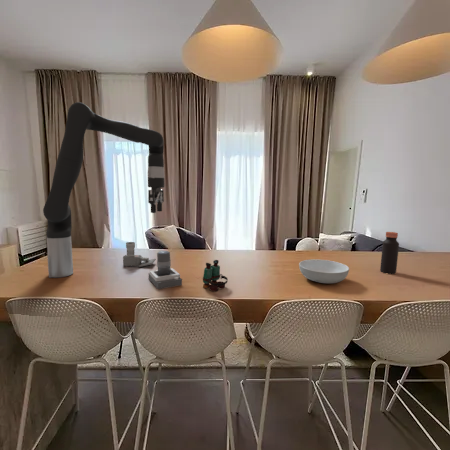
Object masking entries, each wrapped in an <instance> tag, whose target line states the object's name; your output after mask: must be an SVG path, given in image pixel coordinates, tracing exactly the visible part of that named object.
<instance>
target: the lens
mask: <svg viewBox="0 0 450 450" xmlns="http://www.w3.org/2000/svg"><path fill="white" fill-rule="evenodd" d="M156 256H157V257H156V259H157V260H156V267H157V270H158V277H159V276H166V275H171V274H170V268H171V265H172V264H171V252H170V251H168V250H161V251H158V252H157V253H156Z"/></svg>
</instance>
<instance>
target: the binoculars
mask: <svg viewBox="0 0 450 450" xmlns="http://www.w3.org/2000/svg"><path fill="white" fill-rule="evenodd" d="M219 261H220V260H219V259H214V260H213V265H212V263H210V262H205V266H206V267H204V269H203V276H202V282H203V284H202V288H204V289H209V290H210V291H212V292H218V289H225V288H226V284H227V283H228V279H229V278H228V277H227V276H225V275H223V274H222V273H220V272H221V265H218V264H219ZM222 279H224V280H225V281H222ZM218 280H221V281H218Z"/></svg>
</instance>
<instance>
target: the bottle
mask: <svg viewBox="0 0 450 450" xmlns="http://www.w3.org/2000/svg"><path fill="white" fill-rule="evenodd" d="M398 237H399V234H398V232H395V231H386V232H385V239H384V240H383V242H382V248H381V249H382V250H381V258H380V268H379V271H380V272H381V273H382V272H384V273H383V274H386V273H388V274H387V275H396V274H395V273H397V267H398V260H399V259H398V257H399V249H400V242H399V241H398Z"/></svg>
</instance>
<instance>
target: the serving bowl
mask: <svg viewBox="0 0 450 450" xmlns="http://www.w3.org/2000/svg"><path fill="white" fill-rule="evenodd" d="M298 266H299V267H298V268H299V270H300V273H301V274H302V276H304V277H305V279H307V280H309V281H313V282H315V283H320V284H336V283H341V282H342V281H343V280H345V279H346V278H347V277H348V275H349V273H350V272H349V271H350V267H349V266H348V265H346V264H345V263H341V262H339V261H333V260H329V259H317V258H315V259H305V260H301V261H300V262H299V263H298Z"/></svg>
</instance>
